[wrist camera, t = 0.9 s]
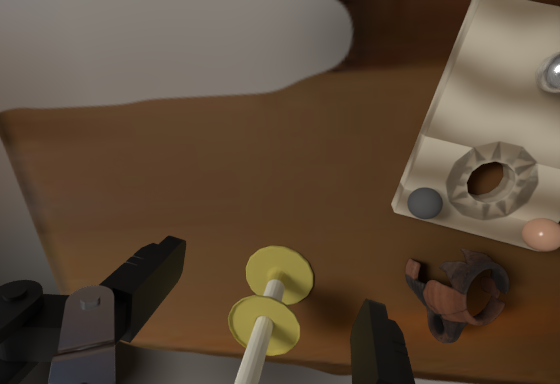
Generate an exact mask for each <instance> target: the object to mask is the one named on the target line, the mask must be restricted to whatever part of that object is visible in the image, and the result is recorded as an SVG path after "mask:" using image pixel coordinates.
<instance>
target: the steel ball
mask: <svg viewBox="0 0 560 384" xmlns="http://www.w3.org/2000/svg"><path fill="white" fill-rule="evenodd" d="M535 81H536V83H537V85H538V86H539V87H540V88H541V89H542V90H544V91H546V92H550V93H560V52H557V53H554V54H552V55H550V56H549V57H547V58H546V59H545V60H543V61H542V62H541V64H540V65H539V66H538V68H537V70H536V73H535Z"/></svg>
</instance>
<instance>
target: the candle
mask: <svg viewBox="0 0 560 384" xmlns="http://www.w3.org/2000/svg"><path fill="white" fill-rule="evenodd" d="M246 279H247V281H248V283H249V285H250V287H251V289H252V290H253V291H254V292H255V293H256V294H257V295H254V296H249V297H245V298H242V299H241V300H240V301H239V302H237V303H236V304H235V305H233V307H232V310H231V312H230V314H229V316H228V320H229V329H230V331H231V332H232V334H233V336H234V338H235V339H236V340H237V341H238V342H239V343H240V344H241V345H243V346H244V347H245V348H246V351H245V354H244V357H243V360H242V363H241V366H240V369H239V371H238V374H237V377H236V381H235V383H234V384H258V382H259V378H260V374H261V371H262V367H263V363H264V360H265V356H266V355H270V356H273V355H279V354H284V353H286V352H287V351H289V350H291V349H292V348H294V347H295V345H296V343H297V341H298V340H299V338H300V324H299V321H298V319H297V317H296V315H295V313H294V312H293V311H292V310H291V309H290V308H289V307H288V306H287V305H289V304H294V303H298V302H299V301H301V300H302V299H304V298H305V297H306V296H308V294H309V292H310V290H311V288H312V287H313V271H312V269H311V267H310V265H309V262H308V261H307V260H306V259H305V258H304V257H303V256H302V255H301V254H300V253H299V252H296V251H294V250H292V249H290V248H287V247H283V246H269V247H265V248H262V249H259V250H258V251H257V252H256V253H254V254H253V255H252V256H251V257H250V259H249V261H248V264H247V266H246Z"/></svg>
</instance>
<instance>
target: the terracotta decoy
mask: <svg viewBox="0 0 560 384" xmlns="http://www.w3.org/2000/svg"><path fill="white" fill-rule="evenodd" d="M521 236H522V239H523V241H524V242H525V243H526V244H527V245H528V246H529V247H531V248H532V249H534V250H538V251H544V252H547V251H553V250H556V249H558V248H559V247H560V225H559V224H558V223H557V222H555V221H553V220H550V219H547V218H536V219H532V220H530V221H528V222H527V223H526V224H525V225H524V226H523V228H522V230H521Z"/></svg>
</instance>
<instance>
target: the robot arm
mask: <svg viewBox="0 0 560 384" xmlns="http://www.w3.org/2000/svg"><path fill="white" fill-rule="evenodd" d="M185 250H186V241H185V240H182V239H179V238H176V237H173V236H167V237H166V238H165V239H164V240H163V241H162V242H161V243H160V244H159V245H158V244H155V243H152V244H149V245H147V246H144V247H142V248H141V249H139V250H138V251H137V252H136V253H135V254H134V255H133V257H130V258H129V259H128V260H127V261H126V263H123V264H122V265H121V266H120V267H119V268H118V269H117V270H115V271H114V272H113V273H112V274H111V275H110V276H109V277H107V278H106V279H105V280H104V281H103V282H102V283H101V284H99V285H92V286H87V287H83V288H81V289H78V290H76V291H75V292H73V293H72V294H71V295H52V294H43V290H42V286H41V285H40V284H39V283H38V282H35V281H31V280H19V281H13V282H10V283H6V284H4V285H2V286H0V384H19V383H20V382H21V381H22V380H23V379H24V378H25V377H26V376H27V375H28V373H29V372H31V371H32V369H33V368H34V367H35V366H36V365H37V364H38V363H39V362H52V364H51V370H50V376H49V382H48V384H115V345H116V344H117V343H118V341H119V340H123V341H126V342H129V343H130V342H131V341H132V340H133V338H134V337H135V336H136V335H137V333H138V332H139V331H140V329H141V328H142V327H143V326H144V324H145V323H146V322H147V321H148V319H149V318H150V317H151V315H152V314H153V313H154V312H155V310H156V309H157V308H158V306H159V305H160V304H161V303H162V301H163V300H164V299H165V297H166V296H167V295H168V294H169V292H170V291H171V290H172V288H173V287H174V286H175V285H176V283H177V282H178V280H179V279H180V276H181V274H182V271H183V265H184V257H185ZM350 342H351V367H352V384H415V381H414V377H413V373H412V369H411V365H410V361H409V357H408V352H407V348H406V347H405V345H406V344H405V340H404V336H403V333H402V331H401V330H400V328H399V326H398V325H397V323H396V322H395V321H393V320H390V319H388V316H387V311H386V306H385V305H384V304H382V303H379V302H375V301H372V300H369V299H366V300H365V301H364V303H363V305H362V307H361V309H360V311H359V314H358V316H357V318H356V320H355V322H354V325H353V327H352V331H351V339H350Z"/></svg>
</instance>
